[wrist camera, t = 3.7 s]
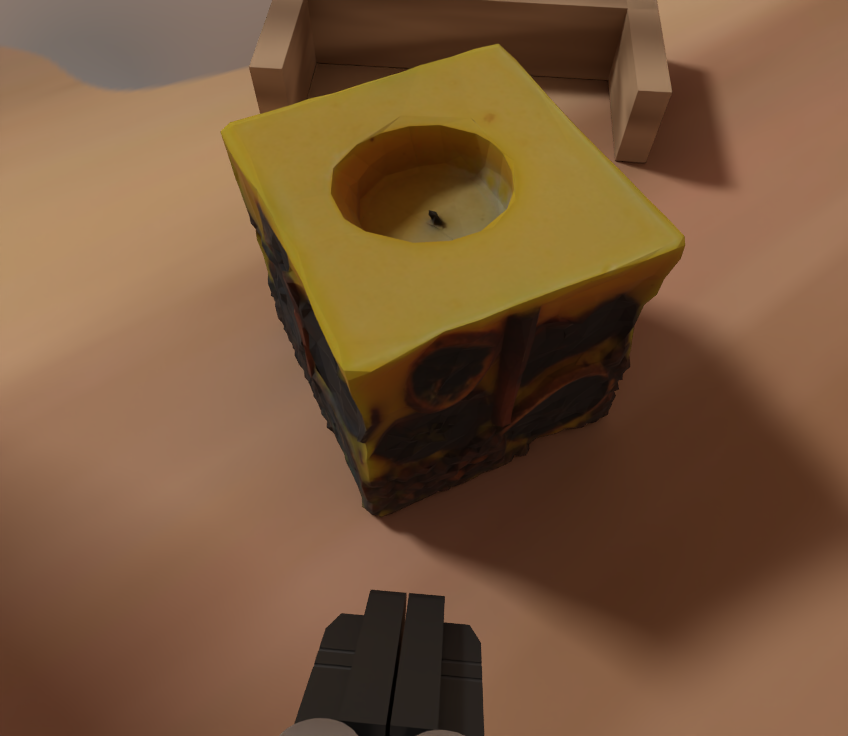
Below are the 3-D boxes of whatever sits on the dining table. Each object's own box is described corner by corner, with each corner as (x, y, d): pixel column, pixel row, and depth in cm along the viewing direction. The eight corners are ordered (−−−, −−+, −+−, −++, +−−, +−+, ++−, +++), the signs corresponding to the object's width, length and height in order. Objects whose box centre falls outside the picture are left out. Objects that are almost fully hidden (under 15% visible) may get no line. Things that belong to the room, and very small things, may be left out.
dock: (645, 162, 33) (672, 92, 30) (266, 138, 34) (249, 67, 30) (632, 51, 38) (653, -21, 34) (298, 31, 38) (286, -41, 35)
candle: (611, 418, 26) (706, 245, 17) (372, 530, 24) (346, 394, 15) (484, 238, 31) (510, 32, 22) (274, 317, 28) (212, 121, 20)
